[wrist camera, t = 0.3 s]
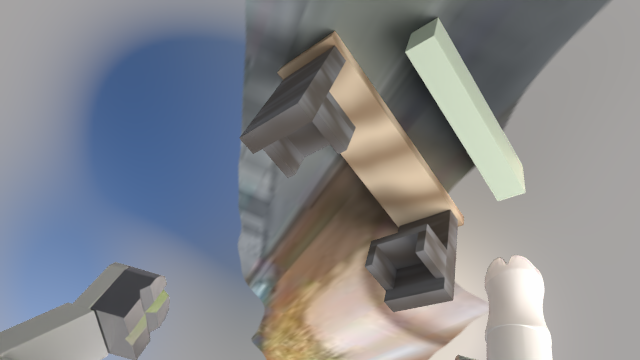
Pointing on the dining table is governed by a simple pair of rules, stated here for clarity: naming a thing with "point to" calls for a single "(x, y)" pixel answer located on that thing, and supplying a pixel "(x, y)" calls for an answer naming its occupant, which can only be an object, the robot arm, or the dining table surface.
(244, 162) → the dining table surface
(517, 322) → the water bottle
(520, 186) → the rail
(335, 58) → the rail stand
